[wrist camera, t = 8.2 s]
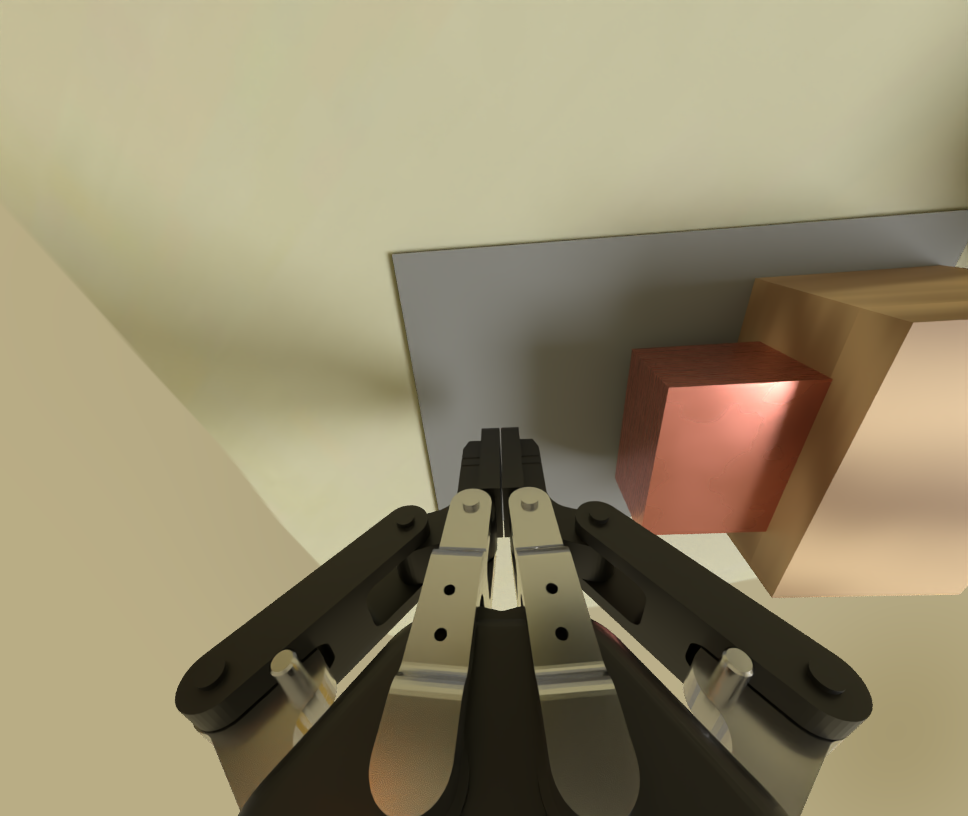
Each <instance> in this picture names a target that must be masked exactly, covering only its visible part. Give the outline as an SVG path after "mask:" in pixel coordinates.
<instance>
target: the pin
mask: <svg viewBox="0 0 968 816" xmlns="http://www.w3.org/2000/svg"><path fill="white" fill-rule="evenodd" d="M832 380H833V379H832V378H830V377H828V376H826V375H824V374H822V373H820V372H818V371H816V370H814V369H812V368H810V367H808V366H806V365H804V364H803V363H801V362H799V361H797V360H795V359H793V358H791V357H789V356H787V355H785V354H783V353H781V352H779V351H777V350H776V349H774V348H772V347H770V346H768V345H766V344H764V343H762V342H760V341H756V342H739V343H722V344H705V345H688V346H671V347H653V348H636V349H632V353H631V360H630V368H629V375H628V383H627V390H626V398H625V405H624V413H623V420H622V427H621V435H620V442H619V450H618V457H617V465H616V472H615V480H616V482H617V484H618V486H619V489H620V491H621V493H622V496H623V498H624V500H625V502H626V505H627V507H628V509H629V512H630V514H631V516H632V519H633V520H634V521H635V522H637V523H638V524H640V525H641V526H643V527H644V528H646V529H647V530H649V531H650V532H652V533H653V534H655V535H666V534H702V533H737V532H766V531H767V528H768V526H769V524H770V521H771V519H772V517H773V515H774V512H775V510H776V508H777V505H778V503H779V501H780V499H781V496H782V494H783V492H784V489H785V487H786V485H787V483H788V480H789V478H790V476H791V473H792V471H793V469H794V467H795V464H796V462H797V460H798V458H799V455H800V453H801V451H802V448H803V446H804V444H805V442H806V439H807V437H808V435H809V432H810V430H811V428H812V426H813V423H814V421H815V419H816V416H817V414H818V412H819V410H820V407H821V405H822V403H823V400H824V398H825V396H826V394H827V391H828V389H829V387H830V384H831V382H832Z"/></svg>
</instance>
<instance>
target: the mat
mask: <svg viewBox="0 0 968 816" xmlns="http://www.w3.org/2000/svg"><path fill="white" fill-rule="evenodd" d="M967 243H968V210H955V211H942V212H929V213H916V214H903V215H890V216H877V217H864V218H851V219H838V220H825V221H812V222H799V223H786V224H773V225H760V226H747V227H734V228H721V229H708V230H695V231H682V232H669V233H656V234H643V235H630V236H617V237H604V238H591V239H578V240H565V241H552V242H539V243H526V244H513V245H500V246H487V247H474V248H461V249H448V250H435V251H422V252H409V253H396V254H392V258H393V263H394V269H395V274H396V280H397V285H398V291H399V296H400V302H401V307H402V313H403V318H404V323H405V329H406V334H407V340H408V345H409V351H410V356H411V362H412V367H413V373H414V378H415V384H416V389H417V394H418V400H419V405H420V411H421V416H422V422H423V427H424V433H425V438H426V444H427V449H428V454H429V460H430V465H431V471H432V476H433V482H434V487H435V493H436V498H437V504H438V509H439V510H441V509H444V508H446V507H447V506H449V505H450V503H451V500H452V498H453V497H454V496H455V495H456V494H457V491H458V484H459V476H460V469H461V461H462V454H463V449H464V447H465V446H466V445H467V443H468V442H469V441H481V431H482V428H499V429H500V446H501V428H503V427H519V436H520V439H533V440H534V441H535V442H536V443H537V445H538V446H539V450H540V457H541V462H542V468H543V473H544V479H545V485H546V491H547V493H548V495H549V497H550V498H551V499H552V500H553V501H555V502H556V503H558V504H560V505H562V506H565V507H569V508H573V509H578V507H579V506H580V505H581V504H583V503H586V502H589V501H600V502H604V503H607V504H609V505H611V506H613V507H614V508H616V509H617V510H619V511H620V512H622V513H623V514H625V515H626V516H628V517H631V514H630V512H629V509H628V507H627V505H626V502H625V500H624V498H623V496H622V493H621V491H620V489H619V486H618V484H617V482H616V480H615V472H616V465H617V457H618V450H619V442H620V435H621V427H622V420H623V413H624V405H625V398H626V390H627V383H628V375H629V368H630V360H631V353H632V349H636V348H653V347H671V346H688V345H705V344H722V343H737V342H738V338H739V335H740V331H741V328H742V324H743V320H744V317H745V313H746V310H747V306H748V303H749V299H750V296H751V292H752V288H753V285H754V281H755V278H763V277H778V276H793V275H807V274H822V273H836V272H851V271H865V270H880V269H895V268H909V267H924V266H938V265H944V266H952V267H955V265H956V263H957V262H958V260H959V258H960V256H961V254H962V252H963V250H964V248H965V246H966V245H967ZM501 465H502V459H501ZM502 511H503V495H502ZM503 521H504V513H503Z"/></svg>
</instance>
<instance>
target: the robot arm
mask: <svg viewBox="0 0 968 816" xmlns="http://www.w3.org/2000/svg"><path fill="white" fill-rule="evenodd" d="M501 459H502V465H501ZM502 495H503V511H502ZM503 513H504V530H505V537H510V544H511V561H512V568H513V576H514V584H515V592H516V600H517V607H516V608H513V609H509V610H506V611H498V610H494V609H492V597H493V586H494V575H495V563H496V551H497V538H499V537H503ZM582 590H583V591H584V592H585V593H586V594H587V595H588V596H590V597H591V598H592V599H593V600H594V601H595V602H596V603H597V604H598V605H599V606H600V607H601V608H602V609H604V610H605V611H606V612H607V613H608V614H609V615H610V616H611V617H612V618H613V619H614V620H615V621H617V622H618V623H619V624H620V625H621V626H622V627H623V628H624V629H625V630H626V631H627V632H628V633H630V634H631V635H632V636H633V637H634V638H635V639H636V640H637V641H638V642H639V643H640V644H641V645H642V646H643V647H645V648H646V649H647V650H648V651H649V652H650V653H651V654H652V655H653V656H654V657H655V658H656V659H657V660H659V661H660V662H661V663H662V664H663V665H664V666H665V667H666V668H667V669H668V670H669V671H671V673H673V674H674V675H675V676H676V677H677V678H678V679H679V680H680V681H681V682H682V683H683V684H684V687H683V688H684V696H685V699H686V702H687V704H688V706H689V708H690V710H691V712H692V713H693V714H692V713H691V712H690V711H689V710H688V709H687V708H686V707H685V706H684V705H683V704H682V703H681V702H680V701H679V700H678V699H677V698H676V697H675V696H674V695H673V694H672V693H671V691H669V690H668V689H667V688H666V686H664V684H663V683H662V682H661V681H660V680H659V679H658V678H657V677H656V676H655V675H654V674H652V672H651V671H650V670H649V669H648V668H647V667H646V666H645V665H644V664H643V663H642V662H641V661H640V660H639V659H638V658H637V657H636V656H635V655H634V654H633V653H632V652H631V651H630V650H629V649H628V648H627V647H626V646H625V645H624V644H623V643H622V642H621V641H620V640H619V639H618V638H617V637H616V636H615V635H614V634H613V633H611V632H610V631H609V630H608V629H607V628H605V627H604V626H602V625H601V624H599V623H598V622H596V621H594V620H592V619H590V615H589V612H588V609H587V605H586V602H585V599H584V595H583V592H582ZM417 603H418V604H417ZM416 604H417V608H416V612H415V615H414V619H413V622H412V623H410V624H409V625H407V626H406V627H405V628H403V629H402V630H401V631H400V632H398V633H397V634H396V635H395V636H394V637H393V638H392V639H391V640H390V641H389V642H388V643H387V645H386V646H385V647H384V648H383V649H382V650H381V651H380V652H379V653H378V655H377V656H376V657H375V658H374V659H373V660H372V661H371V662H370V663H369V665H367V667H366V668H365V669H364V670H363V671H362V672H361V673H360V674H359V675H358V677H357V678H356V679H355V680H354V681H353V682H352V683H351V684H350V685H349V687H348V688H347V689H346V690H345V691H344V692H343V693H342V694H341V695H340V696H339V697H338V698H337V700H336V701H335V702H334V700H335V697H336V692H337V684H338V683H339V682H340V681H341V680H342V679H343V678H344V677H345V676H346V675H347V674H348V673H349V672H350V670H352V669H353V668H354V667H355V665H357V664H358V663H359V661H361V660H362V659H363V658H364V657H365V655H366V654H367V653H368V652H369V651H370V650H371V649H372V648H373V647H374V646H375V645H376V644H377V643H378V642H379V641H380V640H381V639H382V638H383V637H384V636H385V635H386V634H387V633H388V632H389V631H390V630H391V629H392V628H393V627H394V626H395V625H396V624H397V623H398V622H399V621H400V620H401V619H402V618H403V617H404V616H405V615H406V614H407V613H408V612H409V611H410V610H411V609H412V608H413V607H414V606H415V605H416ZM175 704H176V707H177V709H178V710H179V711H180V712H181V713H182V714H183V715H184V716H185V717H186V718H188V719H189V720H190V721H191V722H192V723H193V725H194V728H195V729H196V730H197V731H198V732H199V733H200V734H201V735H202V736H203V737H205V738H206V739H207V740H208V741H209V742H210V743H211V744H212V745H213V746H214V748H215V750H216V752H217V755H218V757H219V760H220V762H221V765H222V767H223V769H224V772H225V775H226V777H227V779H228V782H229V784H230V787H231V789H232V792H233V794H234V796H235V799H236V802H237V804H238V806H239V809H240V813H239V815H238V816H800V815H801V813H802V810H803V808H804V806H805V803H806V801H807V799H808V796H809V794H810V791H811V789H812V786H813V784H814V782H815V780H816V777H817V775H818V773H819V770H820V768H821V766H822V763H823V761H824V758H825V757H826V756H828V755H829V753H831V752H832V751H833V750H834V749H835V748H836V747H837V746H838V745H839V744H840V743H841V742H842V741H843V740H845V739H846V738H847V736H849V735H850V734H851V733H852V732H853V731H854V730H855V729H856V728H857V727H858V726H859V725H860V724H862V723H863V722H864V721H865V720H866V719H867V718H868V717H869V715H870V714H871V712H872V706H873V704H872V698H871V696H870V693H869V691H868V689H867V687H866V685H865V684H864V682H863V681H862V679H861V678H860V677H859V675H858V674H857V673H856V672H855V671H854V670H853V669H852V668H851V667H850V666H849V665H848V664H847V663H846V662H844V661H843V660H842V659H841V658H839V657H838V656H837V655H835V654H834V653H832V652H831V651H829V650H828V649H826V648H824V647H823V646H822V645H820V644H819V643H817V642H815V641H814V640H813V639H811V638H810V637H808V636H807V635H805V634H804V633H802V632H801V631H799V630H798V629H796V628H794V627H793V626H792V625H790V624H788V623H787V622H786V621H784V620H783V619H781V618H780V617H778V616H777V615H775V614H774V613H772V612H771V611H769V610H768V609H766V608H764V607H763V606H762V605H760V604H758V603H757V602H755V601H754V600H753V599H751V598H749V597H748V596H746V595H745V594H744V593H742V592H740V591H739V590H738V589H736V588H735V587H733V586H732V585H730V584H729V583H727V582H726V581H724V580H723V579H721V578H720V577H718V576H717V575H715V574H714V573H712V572H711V571H709V570H708V569H706V568H705V567H703V566H702V565H700V564H699V563H697V562H696V561H694V560H693V559H691V558H690V557H688V556H687V555H685V554H684V553H682V552H681V551H679V550H678V549H676V548H675V547H673V546H672V545H670V544H669V543H667V542H666V541H664V540H663V539H661V538H659V537H658V536H656V535H655V534H653V533H652V532H650V531H649V530H647V529H646V528H644V527H643V526H641V525H640V524H638V523H637V522H635V521H634V520H632V519H631V518H629V517H628V516H626V515H625V514H623V513H622V512H620V511H619V510H617V509H616V508H614V507H613V506H611V505H609V504H607V503H604V502H600V501H589V502H586V503H583V504H581V505H580V506H579V507H578V509H573V508H569V507H565V506H562V505H560V504H558V503H556V502H555V501H553V500H552V499H551V498H550V497H549V495H548V493H547V491H546V485H545V479H544V473H543V468H542V462H541V457H540V450H539V446H538V445H537V443H536V442H535V441H534V440H533V439H520V436H519V427H503V428H501V446H500V429H499V428H482V431H481V441H469V442H468V443H467V445H466V446H465V447H464V449H463V454H462V461H461V469H460V476H459V484H458V491H457V494H456V495H455V496H454V497H453V498H452V500H451V503H450V505H449V506H447V507H446V508H444V509H441V510H438V511H435V512H432V513H428V514H427V513H426V512H425V510H424V509H422V508H420V507H418V506H413V505H409V506H403V507H400V508H398V509H396V510H394V511H393V512H391V513H390V514H389V515H388V516H386V517H385V518H384V519H382V520H381V521H380V522H378V523H377V524H376V525H374V526H373V527H372V528H370V529H369V530H368V531H366V532H365V533H364V534H362V535H361V536H360V537H359V538H357V539H356V540H355V541H353V542H352V543H351V544H349V545H348V546H347V547H345V548H344V549H343V550H341V551H340V552H339V553H337V554H336V555H335V556H333V557H332V558H331V559H330V560H328V561H327V562H326V563H324V564H323V565H322V566H320V567H319V568H318V569H316V570H315V571H314V572H312V573H311V574H310V575H308V576H307V577H306V578H304V579H303V580H302V581H301V582H299V583H298V584H297V585H295V586H294V587H293V588H291V589H290V590H289V591H287V592H286V593H285V594H283V595H282V596H281V597H279V598H278V599H277V600H275V601H274V602H273V603H272V604H270V605H269V606H268V607H266V608H265V609H264V610H263V611H261V612H260V613H258V614H257V615H256V616H254V617H253V618H252V619H250V620H249V621H248V622H247V623H246V624H244V625H243V626H241V627H240V628H239V629H237V630H236V631H235V632H233V633H232V634H231V635H229V636H228V637H227V638H226V639H224V640H223V641H221V642H220V643H219V644H217V645H216V646H215V647H214V648H212V649H211V650H210V651H208V652H207V653H206V654H205V655H203V656H202V657H201V658H199V659H198V660H197V661H196V662H195V663H194V664H193V665H192V666H191V667H190V668H189V670H188V671H187V672H186V674H185V675H184V676H183V678H182V680H181V682H180V684H179V686H178V688H177V692H176V696H175Z"/></svg>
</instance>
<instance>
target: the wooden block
mask: <svg viewBox="0 0 968 816" xmlns="http://www.w3.org/2000/svg"><path fill="white" fill-rule="evenodd" d="M756 341H760V342H762V343H764V344H766V345H768V346H770V347H772V348H774V349H776V350H777V351H779V352H781V353H783V354H785V355H787V356H789V357H791V358H793V359H795V360H797V361H799V362H801V363H803V364H804V365H806V366H808V367H810V368H812V369H814V370H816V371H818V372H820V373H822V374H824V375H826V376H828V377H830V378H832V379H833V380H832V382H831V384H830V387H829V389H828V391H827V394H826V396H825V398H824V400H823V403H822V405H821V407H820V410H819V412H818V414H817V416H816V419H815V421H814V423H813V426H812V428H811V430H810V432H809V435H808V437H807V439H806V442H805V444H804V446H803V448H802V451H801V453H800V455H799V458H798V460H797V462H796V464H795V467H794V469H793V471H792V473H791V476H790V478H789V480H788V483H787V485H786V487H785V489H784V492H783V494H782V496H781V499H780V501H779V503H778V505H777V508H776V510H775V512H774V515H773V517H772V519H771V521H770V524H769V526H768V528H767V531H766V532H737V533H727V535H728V536H729V537H730V539H731V540H732V542H733V543H734V545H735V546H736V547H737V549H738V550H739V552H740V553H741V555H742V556H743V557H744V559H745V560H746V562H747V563H748V564H749V566H750V567H751V569H752V570H753V572H754V573H755V574H756V576H757V577H758V579H759V580H760V581H761V583H762V584H763V586H764V587H765V589H766V590H767V591H768V593H769V594H770V596H771V597H772V598H782V597H783V598H784V597H838V596H839V597H841V596H896V595H897V596H898V595H954V594H960V593H961V592H962V591H963V590H964V589H965V588H966V587H967V586H968V269H966V268H959V267H952V266H944V265H938V266H924V267H909V268H895V269H880V270H865V271H851V272H836V273H822V274H807V275H793V276H778V277H763V278H755V281H754V285H753V288H752V292H751V296H750V299H749V303H748V306H747V310H746V313H745V317H744V320H743V324H742V328H741V331H740V335H739V338H738V342H737V343H739V342H756Z"/></svg>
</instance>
